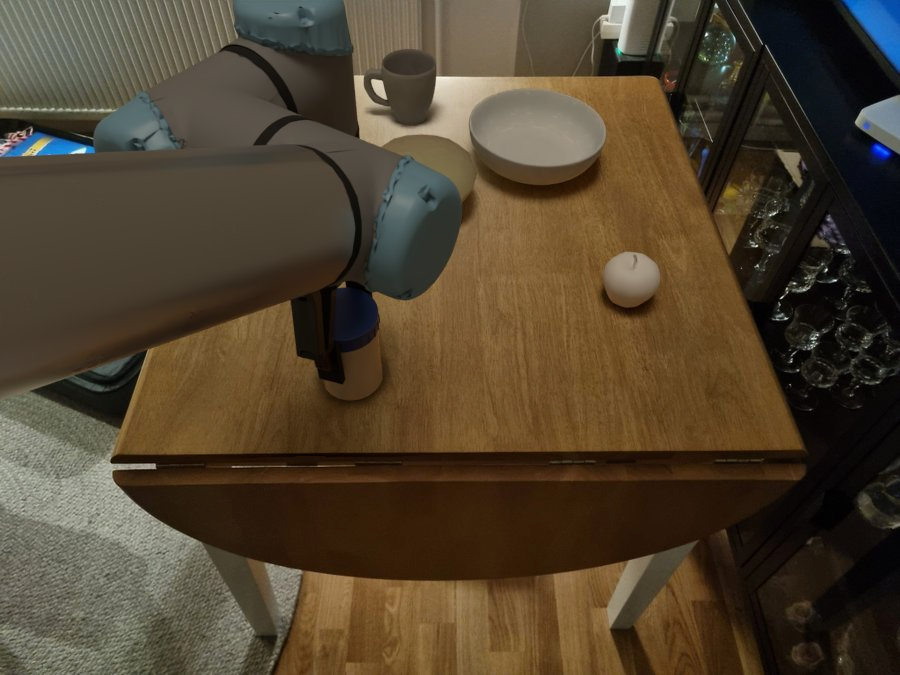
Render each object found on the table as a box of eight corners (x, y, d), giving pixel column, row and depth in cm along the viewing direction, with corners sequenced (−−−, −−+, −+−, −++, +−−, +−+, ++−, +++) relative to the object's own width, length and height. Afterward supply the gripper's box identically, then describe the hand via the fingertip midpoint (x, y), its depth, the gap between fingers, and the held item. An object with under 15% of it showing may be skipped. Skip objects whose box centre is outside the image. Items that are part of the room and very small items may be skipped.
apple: (589, 282, 87) (601, 237, 80) (639, 275, 88) (654, 230, 81) (608, 321, 82) (622, 277, 76) (660, 313, 83) (678, 268, 77)
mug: (437, 102, 114) (437, 49, 106) (434, 131, 108) (434, 77, 101) (369, 100, 114) (365, 46, 106) (363, 128, 108) (357, 74, 101)
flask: (473, 170, 101) (478, 254, 90) (371, 170, 101) (364, 254, 90) (476, 119, 94) (481, 203, 83) (366, 118, 93) (357, 203, 83)
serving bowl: (551, 222, 94) (558, 184, 89) (440, 166, 102) (440, 127, 97) (622, 157, 104) (632, 119, 99) (516, 111, 113) (520, 73, 107)
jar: (347, 411, 73) (336, 354, 65) (311, 374, 76) (295, 315, 68) (394, 377, 76) (390, 318, 68) (358, 343, 79) (349, 282, 71)
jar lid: (337, 365, 66) (335, 353, 64) (294, 323, 69) (291, 311, 68) (394, 327, 69) (393, 314, 67) (350, 289, 72) (349, 276, 71)
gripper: (308, 275, 47) (343, 434, 65) (403, 122, 60) (410, 290, 78) (216, 253, 49) (275, 415, 66) (328, 108, 61) (352, 276, 79)
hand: (348, 347), depth 72 cm, fingers open, 8 cm apart
